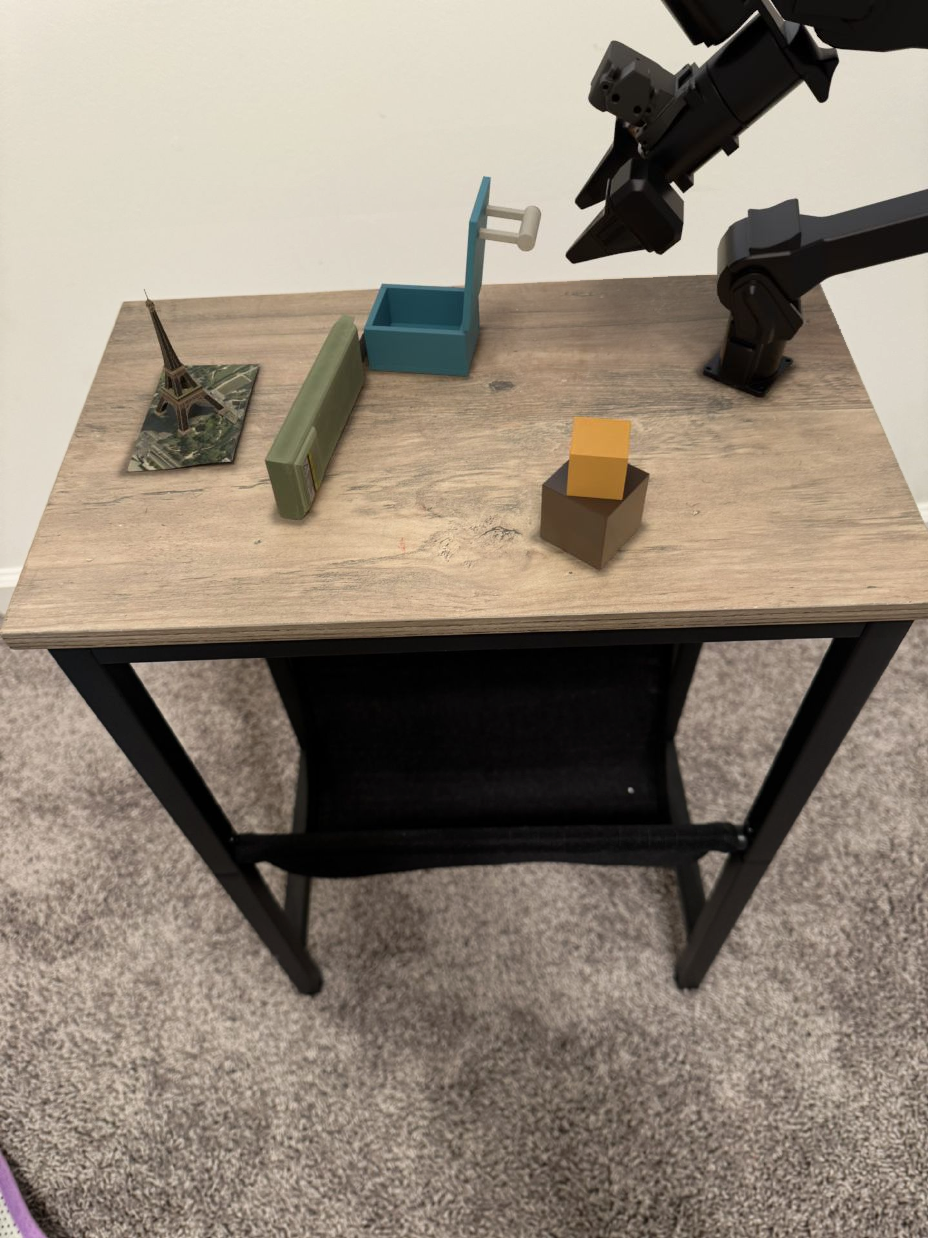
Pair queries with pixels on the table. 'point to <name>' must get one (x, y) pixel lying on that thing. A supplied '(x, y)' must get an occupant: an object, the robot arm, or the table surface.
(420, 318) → the teal open box
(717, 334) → the table surface
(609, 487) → the block
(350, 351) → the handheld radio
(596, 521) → the stand
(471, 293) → the teal lid with handle
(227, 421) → the eiffel tower figurine
